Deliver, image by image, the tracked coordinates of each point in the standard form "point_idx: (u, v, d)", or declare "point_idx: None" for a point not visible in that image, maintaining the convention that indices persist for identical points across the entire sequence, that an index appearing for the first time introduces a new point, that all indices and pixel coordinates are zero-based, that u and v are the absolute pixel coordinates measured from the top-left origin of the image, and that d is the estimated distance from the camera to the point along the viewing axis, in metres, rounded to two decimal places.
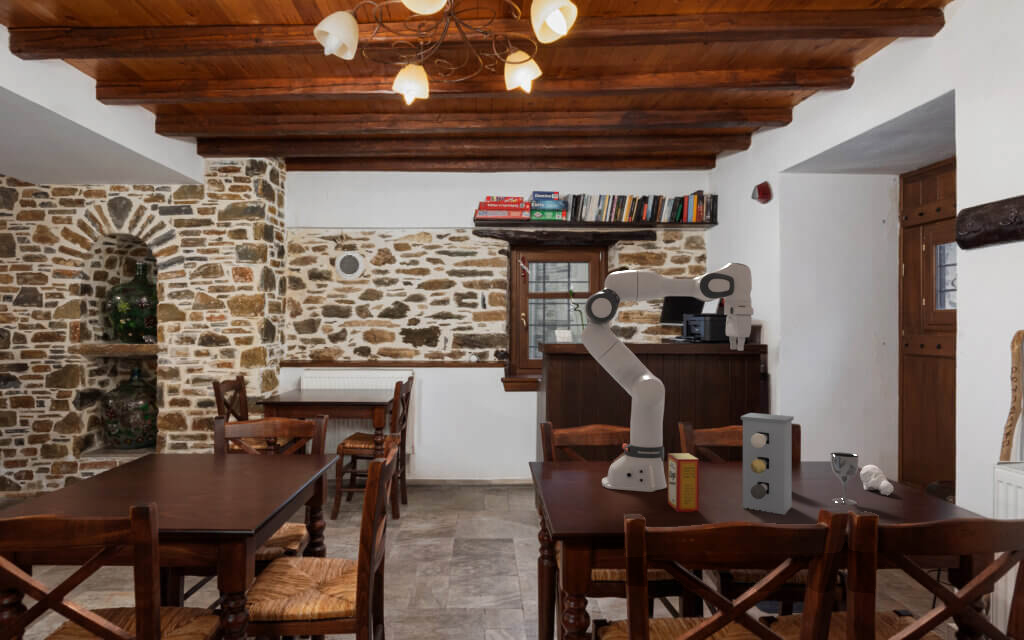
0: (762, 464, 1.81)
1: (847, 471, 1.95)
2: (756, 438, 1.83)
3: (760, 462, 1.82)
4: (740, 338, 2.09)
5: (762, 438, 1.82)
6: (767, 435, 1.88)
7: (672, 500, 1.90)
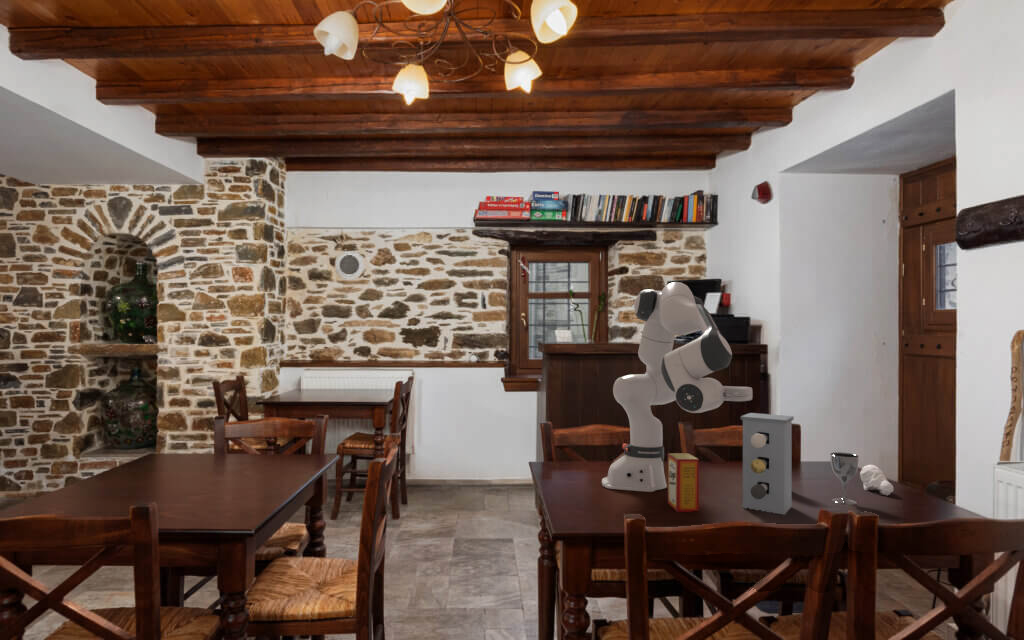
0: (762, 464, 1.81)
1: (847, 471, 1.96)
2: (756, 438, 1.83)
3: (760, 462, 1.82)
4: None
5: (762, 438, 1.82)
6: (767, 435, 1.88)
7: (672, 500, 1.90)
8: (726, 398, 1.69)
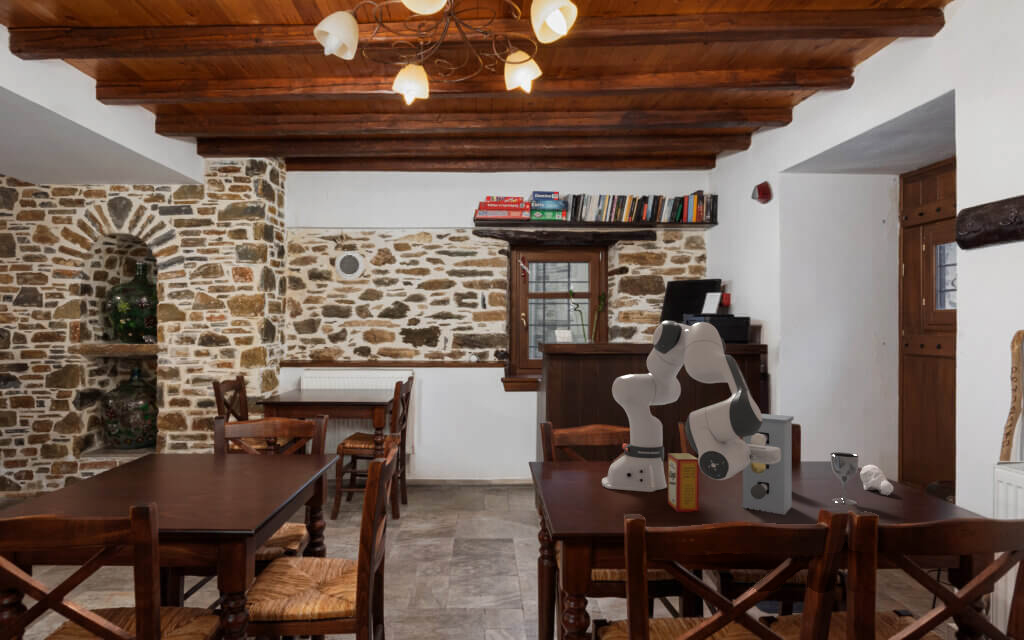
0: (762, 464, 1.81)
1: (847, 471, 1.95)
2: (756, 438, 1.83)
3: None
4: None
5: (762, 438, 1.82)
6: (767, 435, 1.88)
7: (672, 500, 1.90)
8: (753, 460, 1.60)
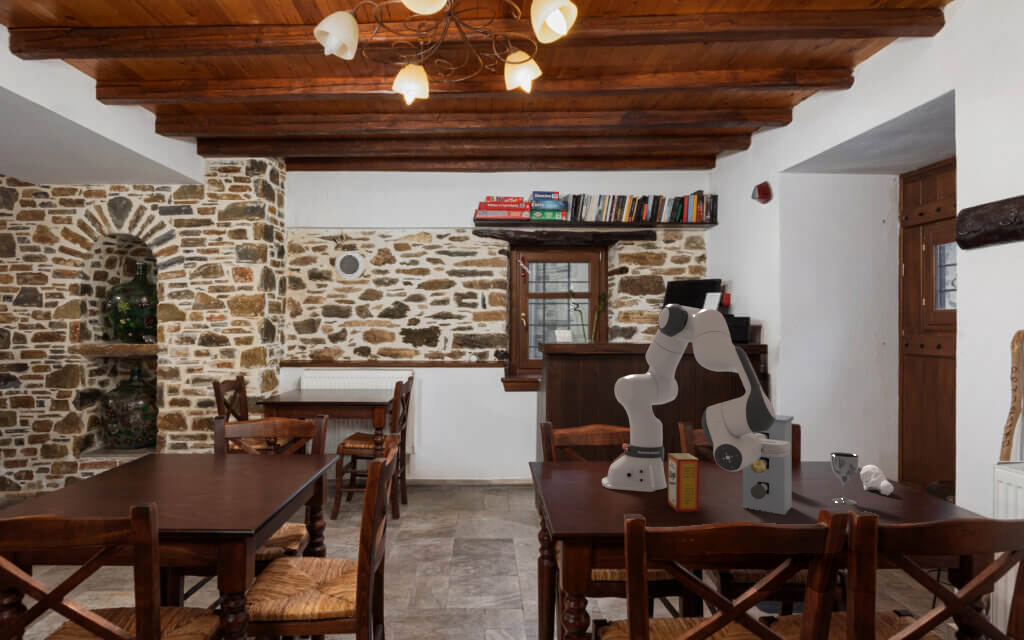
0: (762, 464, 1.81)
1: (847, 471, 1.95)
2: None
3: (760, 462, 1.82)
4: None
5: (762, 438, 1.82)
6: (767, 435, 1.88)
7: (672, 500, 1.90)
8: (764, 453, 1.70)
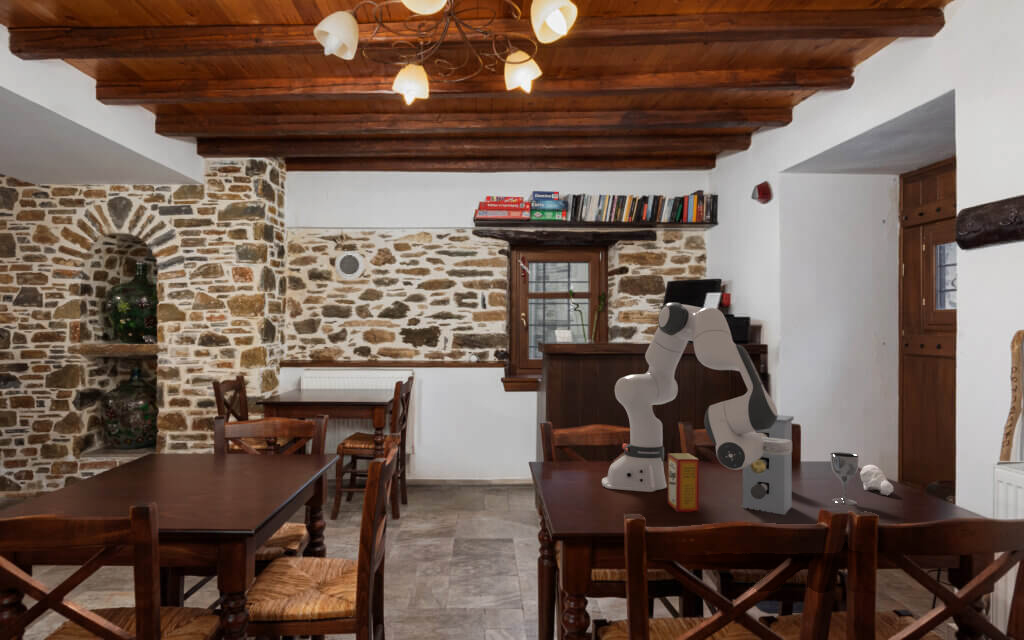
0: (762, 464, 1.81)
1: (847, 471, 1.96)
2: None
3: (760, 462, 1.82)
4: None
5: None
6: None
7: (672, 500, 1.90)
8: (766, 451, 1.71)
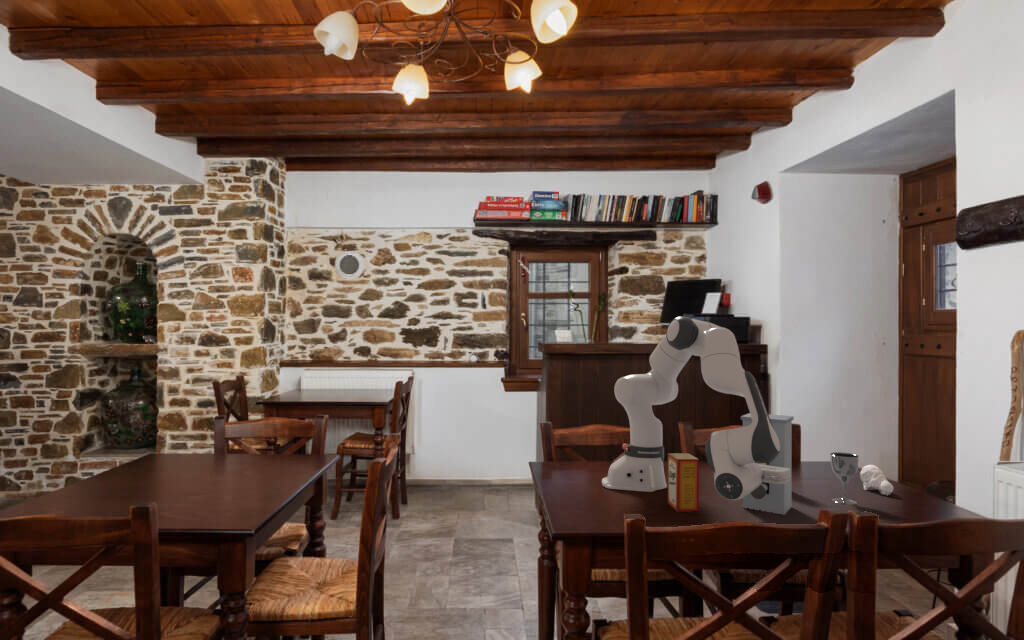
0: (763, 463, 1.82)
1: (847, 471, 1.96)
2: None
3: None
4: None
5: None
6: None
7: (672, 500, 1.90)
8: (764, 480, 1.70)
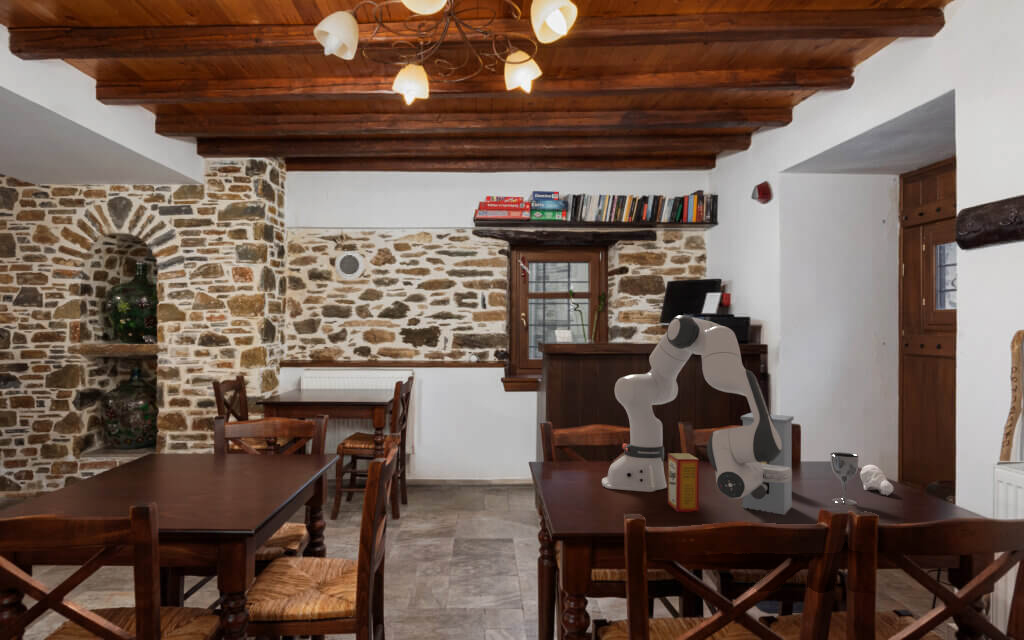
0: (764, 463, 1.83)
1: (847, 471, 1.96)
2: None
3: None
4: None
5: None
6: None
7: (672, 500, 1.90)
8: (766, 479, 1.71)
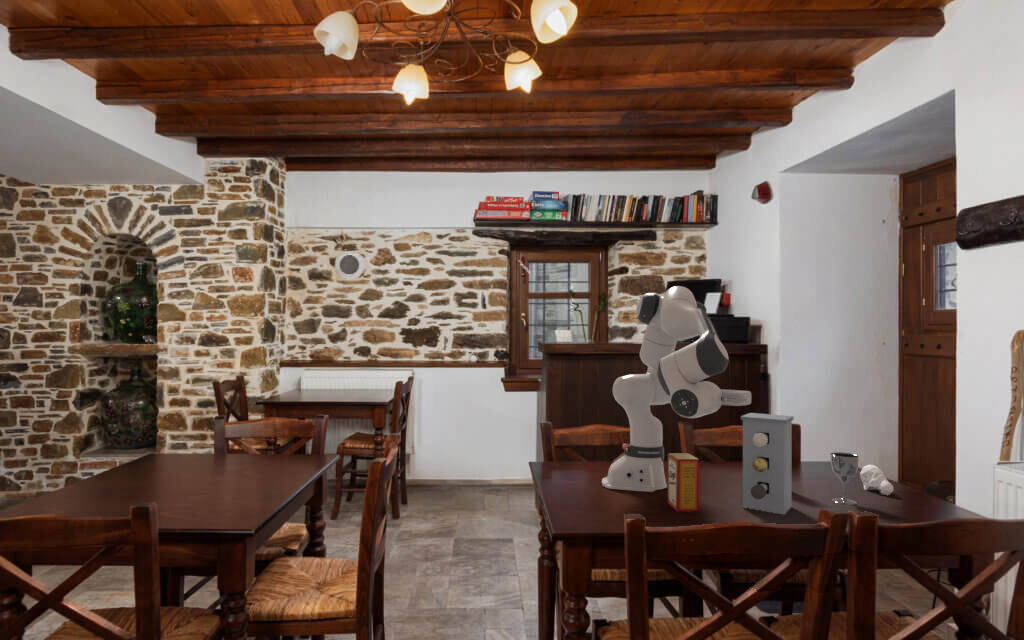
0: (764, 463, 1.83)
1: (847, 471, 1.96)
2: (758, 437, 1.84)
3: (762, 461, 1.83)
4: None
5: (764, 437, 1.83)
6: None
7: (672, 500, 1.90)
8: (724, 402, 1.67)
